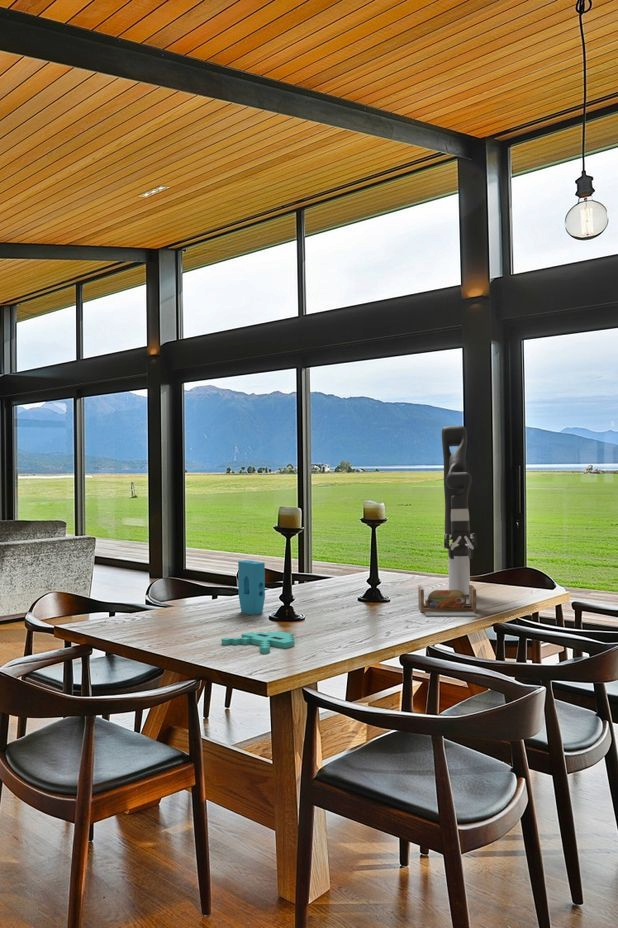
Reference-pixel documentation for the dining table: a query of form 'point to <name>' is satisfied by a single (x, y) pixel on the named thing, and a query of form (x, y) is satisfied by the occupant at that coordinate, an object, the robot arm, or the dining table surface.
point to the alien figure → (263, 640)
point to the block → (251, 586)
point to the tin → (446, 599)
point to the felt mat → (450, 614)
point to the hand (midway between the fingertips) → (461, 558)
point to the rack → (467, 608)
